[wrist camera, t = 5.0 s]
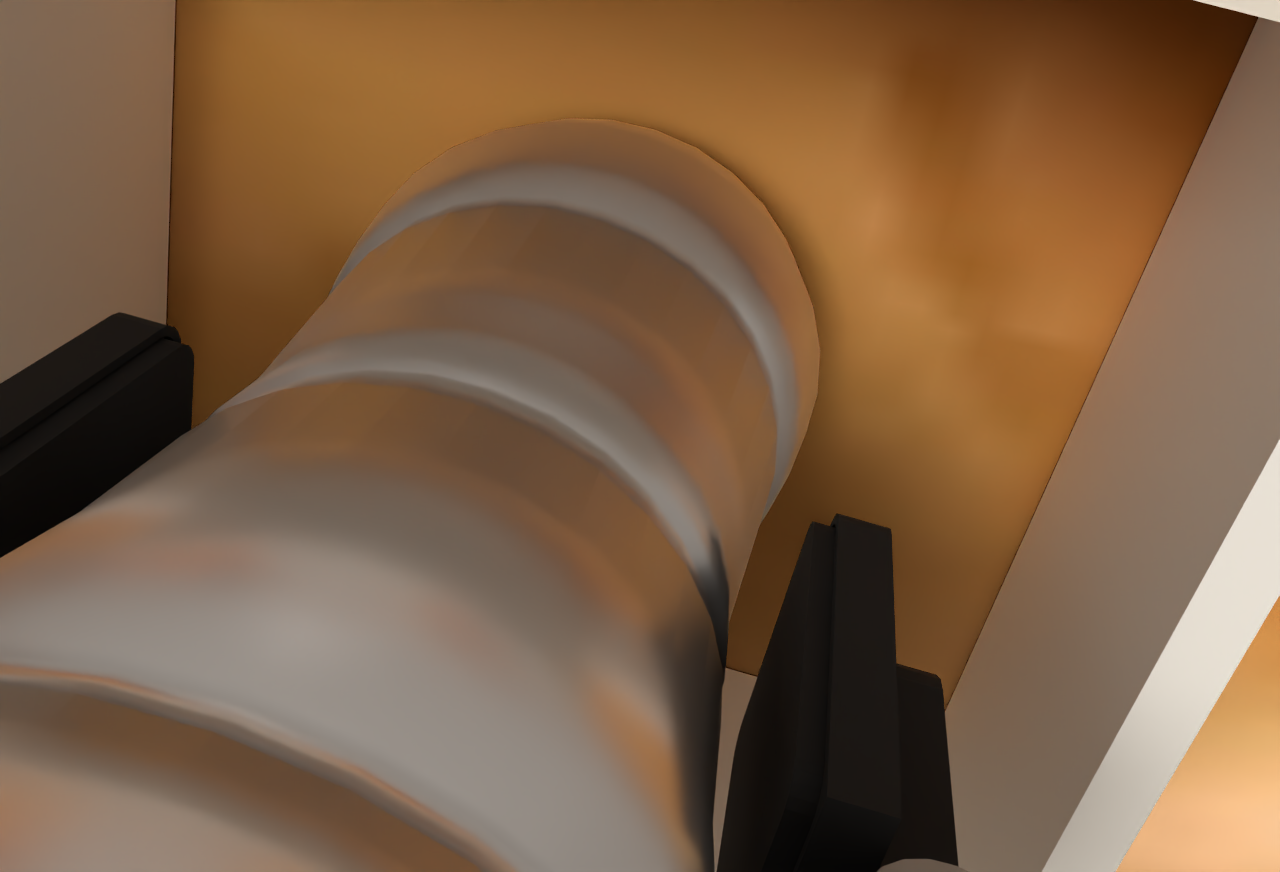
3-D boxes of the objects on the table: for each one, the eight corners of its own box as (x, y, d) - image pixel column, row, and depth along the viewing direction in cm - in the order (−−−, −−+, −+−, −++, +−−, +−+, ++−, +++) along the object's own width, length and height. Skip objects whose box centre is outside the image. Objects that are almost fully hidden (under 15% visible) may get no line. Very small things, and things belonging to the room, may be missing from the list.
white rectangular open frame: (129, -369, 16) (-813, -646, 7) (1363, -60, 15) (2089, 72, 6) (120, 527, 23) (-358, 964, 14) (964, 773, 22) (1033, 1404, 13)
